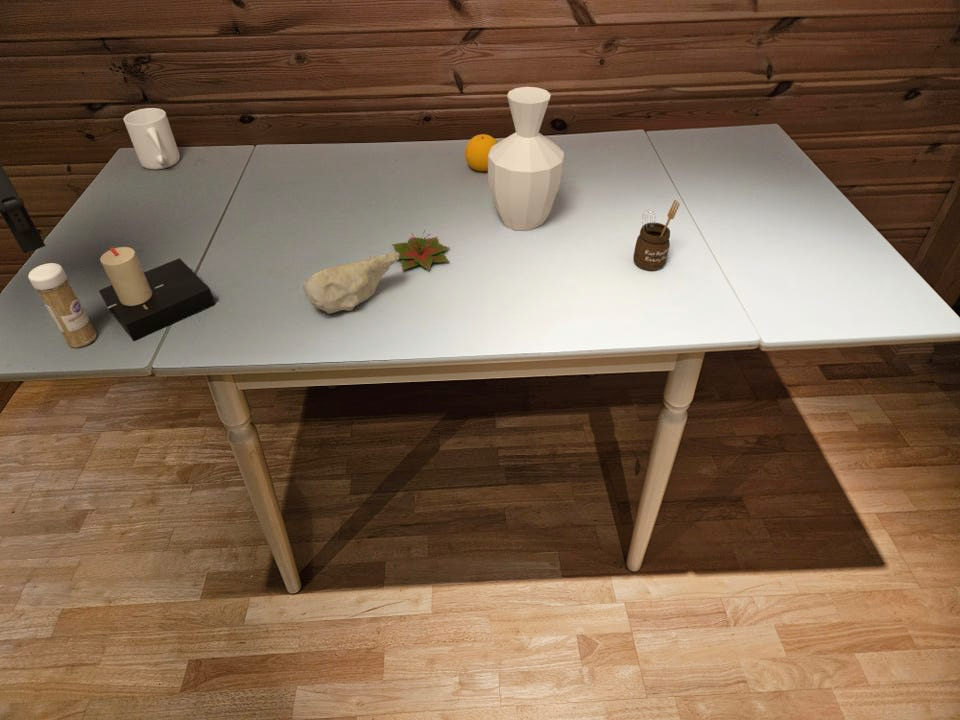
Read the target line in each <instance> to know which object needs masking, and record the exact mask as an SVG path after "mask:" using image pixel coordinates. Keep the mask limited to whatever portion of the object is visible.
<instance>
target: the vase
mask: <svg viewBox="0 0 960 720" xmlns="http://www.w3.org/2000/svg"><path fill="white" fill-rule="evenodd" d="M551 95H552V94H551V93H550V92H549V91H548V90H547V89H543V88H541V87H535V86H522V87H516V88H513V89H511V90H509V91H508V93H507V95H506V96H507V101H508V105H509V110H510V113H511V117H512V121H513V125H514V130H515V132H514V133H512V134H510V135H509V136H507V137H505V138H504V139H502V140H500V141H499V142H498V143H497V144H495V145H494V146H492V147H491V150H490V152H489V155H488V171H487V177H488V179H487V180H488V181H487V182H488V186H489V190H490V194H491V197H492V200H493V204H494V206H495V209H496V210H497V212H498V214H499V216H500V218H501V221H502V223H503V224H504V226H505V227H506V228H508V229H511V230H513V231H522V232H523V231H524V232H525V231H529V230H534V229H536V228H538V227H541V226H542V225H544V223H545V221H546V220H547V218H548V217H549V215H550V213H551V211H552V209H553V205H554V201H555V199H556V196H557V193H558V191H559V189H560V185H561V181H562V177H563V170H564V160H565V152H564V151H563V150H562V148H560V147H559V146H558V145H557V144H556V143H555V142H553V141H552V140H551V139H549V138H548V137H546V136H545V135H543V134H542V133H540V129H541V126H542V123H543V121H544V116H545V114H546V111H547V108H548V105H549V103H550V99H551Z"/></svg>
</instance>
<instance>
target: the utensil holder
mask: <svg viewBox="0 0 960 720" xmlns="http://www.w3.org/2000/svg"><path fill="white" fill-rule="evenodd" d="M680 204H681V203H680V202H679V201H678V200H677V199H674V200H673V202H672V204H671V207H670V209H669V210H668V213H667V220H666V223H665V224H664V223H660V222H656V219H654V221H653V222H652V218H653V217H652V214H651V213H652V210H646V211H645V212H643V213H642V215H641V216H642V218H644V217H645V218H644V221H645V224H644V222H642V223H641V224H642V226H641V228H640V231H639V234H638V236H637V237H636V242H635V246H634V252H633V263H634V264H635V266H637V268H639V269H642V270H644V271H649V272H654V271H659V270H661V269H663V268H664V267H665V265H666V263H667V261H668V260H667V259H668V255H669V251H670V245H671V241H670V238H671V230H670V228H669V227H668V226H669V224H670V221H671V220H674V219H675V216H676V214H677V212H678V209H679V207H680V206H681V205H680ZM646 214H647V216H646ZM649 214H650V218H649V217H648V216H649ZM653 215H654V217H656V215H655V212H653ZM647 218H649V219H650V220H649V221H650V222H647Z"/></svg>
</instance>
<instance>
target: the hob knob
mask: <svg viewBox="0 0 960 720" xmlns="http://www.w3.org/2000/svg"><path fill="white" fill-rule="evenodd" d="M100 263H101V265H102V267H103V270H104V272H105V273H106V275H107V277H108V279H109V282H110V284H111V285H112V286H113V288H114V290H115V292H116V294H117V296H118V298H119V300H120V302H121V303H122V304H123V305H126V306H135V305H139V304H142V303H144V302H146V301H147V300H149V299H150V297H151V296H152V290H151V288H150V286H149V284H148V281H147V279H146V277H145V274H144V272H145V271H144V270H143V268H142V266H141V262H140V261H139V258H138V256H137V254H136V252H135V250H134V249H133V248H131V247H127V246H119V247H110V248H109V250H107V251H105V252H104V253H103V254H102V255H101V257H100Z"/></svg>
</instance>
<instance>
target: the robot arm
mask: <svg viewBox="0 0 960 720" xmlns="http://www.w3.org/2000/svg"><path fill="white" fill-rule="evenodd" d="M24 202H25V201H24V200H23V198H21V196H20V195H19V193H18V191H17V190H16V188H15V186H14V185H13V183H12V181H11V179H10V178H9V175H8V174H7V173H6V170H4V167H3V165H2V164H1V163H0V215H1V217H2V219H3V220H4V222H5V224H6V225H7V228H8V229H9V231H10V232H11V234H12V236H13V237H14V239H15V241H16V243H17V245H18V247H19V249H20V250H21V252H22V253H23V254H27V253H30V252H33V251H35V250H38V249H41V248H44V247H46V244H45V242H44V239H43V238H42V236H41V235H40V233H39V230H38V229H37V227H36V225H35V223H34V222H33V220H32V218H31V216H30V214H29V213H28V211H27V209H26V207H25V203H24Z"/></svg>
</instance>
